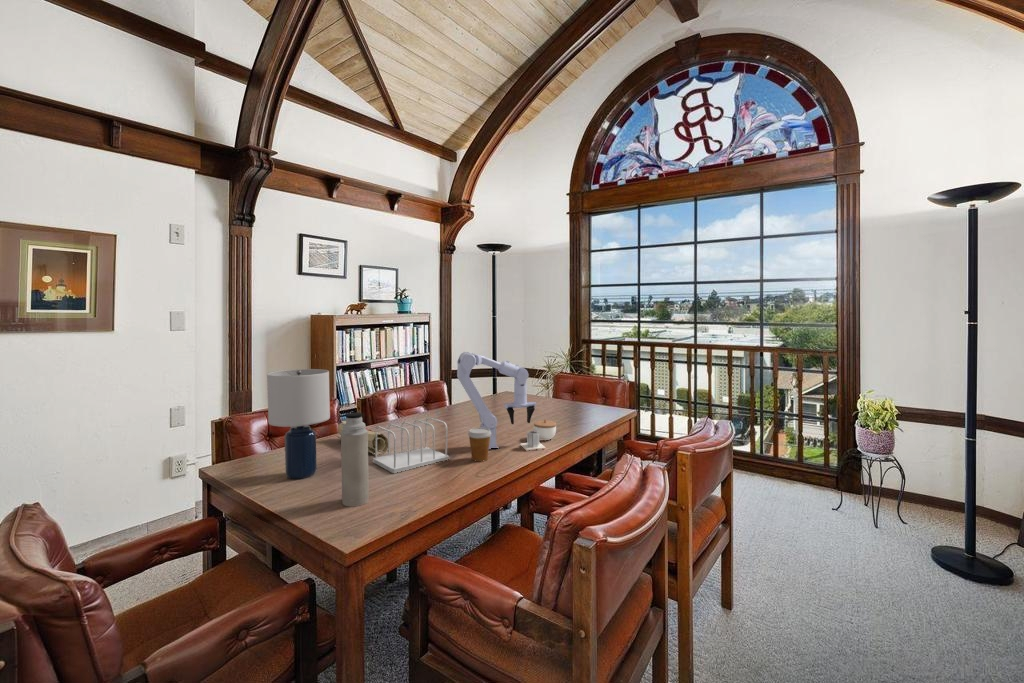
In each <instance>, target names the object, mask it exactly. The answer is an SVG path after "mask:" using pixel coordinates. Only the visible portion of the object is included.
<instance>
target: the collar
mask: <svg viewBox="0 0 1024 683" xmlns="http://www.w3.org/2000/svg"><path fill="white" fill-rule="evenodd" d="M539 442H540V440H539V432H538V431H534V430H528V431H527V432H526V443H527V446H528V447H539Z"/></svg>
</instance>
